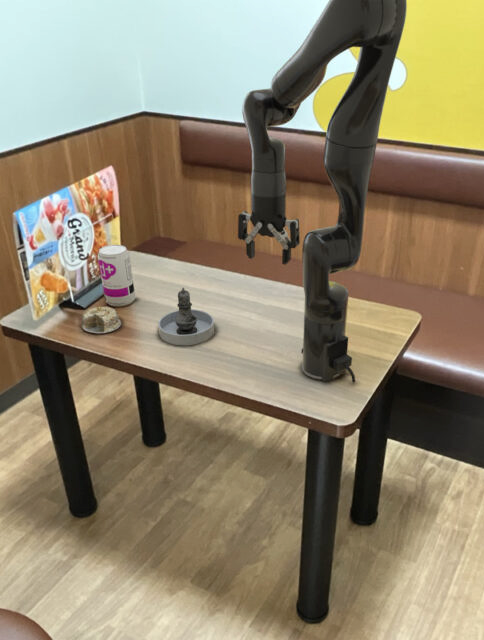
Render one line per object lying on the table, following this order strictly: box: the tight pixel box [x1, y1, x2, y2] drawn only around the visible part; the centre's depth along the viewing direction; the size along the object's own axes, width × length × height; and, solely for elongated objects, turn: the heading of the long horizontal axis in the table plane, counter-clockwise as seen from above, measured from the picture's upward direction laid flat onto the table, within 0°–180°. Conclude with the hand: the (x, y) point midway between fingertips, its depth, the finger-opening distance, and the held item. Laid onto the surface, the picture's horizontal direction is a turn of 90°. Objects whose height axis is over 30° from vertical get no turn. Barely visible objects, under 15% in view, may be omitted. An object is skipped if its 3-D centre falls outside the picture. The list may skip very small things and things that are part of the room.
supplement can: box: [97, 244, 136, 308], centre depth 164 cm, size 8×8×15 cm
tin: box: [157, 308, 215, 346], centre depth 153 cm, size 14×14×3 cm
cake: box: [81, 306, 122, 334], centre depth 155 cm, size 10×10×5 cm
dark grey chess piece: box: [174, 287, 198, 335], centre depth 150 cm, size 6×6×12 cm
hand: (268, 260), depth 140 cm, fingers open, 8 cm apart
